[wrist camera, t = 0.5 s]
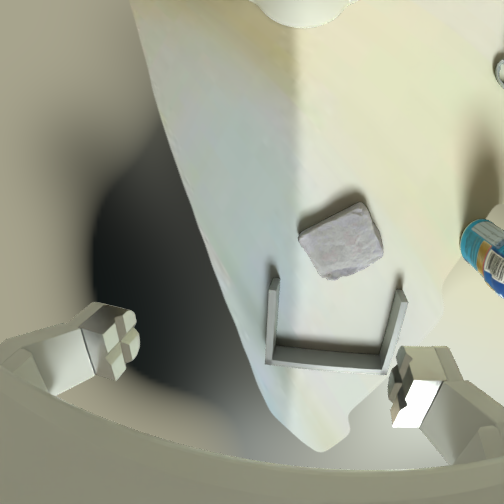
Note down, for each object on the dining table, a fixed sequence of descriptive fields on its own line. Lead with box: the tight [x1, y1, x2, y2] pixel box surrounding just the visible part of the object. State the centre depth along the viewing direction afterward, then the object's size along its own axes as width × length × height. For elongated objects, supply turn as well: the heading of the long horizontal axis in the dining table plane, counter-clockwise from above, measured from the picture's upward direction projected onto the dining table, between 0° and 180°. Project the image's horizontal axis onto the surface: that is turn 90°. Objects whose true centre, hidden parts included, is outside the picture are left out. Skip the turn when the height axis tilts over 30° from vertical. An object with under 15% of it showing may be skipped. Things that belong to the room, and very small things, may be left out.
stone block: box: [298, 202, 383, 280], centre depth 48 cm, size 12×5×10 cm
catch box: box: [265, 278, 408, 375], centre depth 52 cm, size 15×22×4 cm
